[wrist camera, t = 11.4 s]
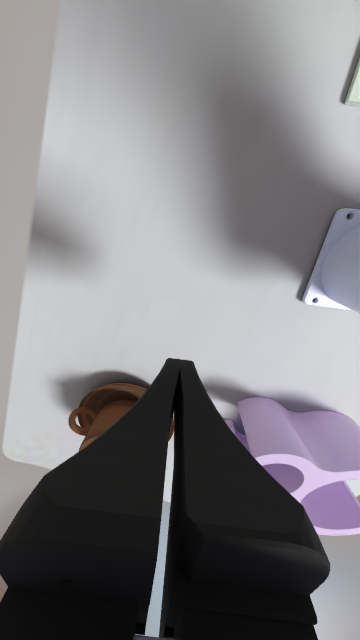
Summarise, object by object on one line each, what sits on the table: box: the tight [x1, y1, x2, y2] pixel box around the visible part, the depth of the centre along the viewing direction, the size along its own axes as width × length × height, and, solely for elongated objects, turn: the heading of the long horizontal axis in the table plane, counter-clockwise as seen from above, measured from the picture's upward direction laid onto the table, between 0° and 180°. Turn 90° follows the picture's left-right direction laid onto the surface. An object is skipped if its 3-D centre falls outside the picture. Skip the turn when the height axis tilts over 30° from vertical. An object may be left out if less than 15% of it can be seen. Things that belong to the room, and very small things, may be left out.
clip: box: [224, 397, 360, 535], centre depth 23 cm, size 20×12×7 cm, turn 65°
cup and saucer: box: [69, 383, 174, 451], centre depth 23 cm, size 12×12×6 cm
